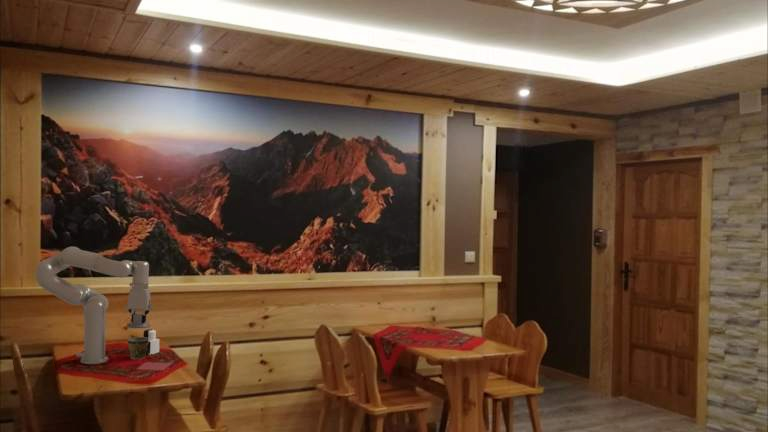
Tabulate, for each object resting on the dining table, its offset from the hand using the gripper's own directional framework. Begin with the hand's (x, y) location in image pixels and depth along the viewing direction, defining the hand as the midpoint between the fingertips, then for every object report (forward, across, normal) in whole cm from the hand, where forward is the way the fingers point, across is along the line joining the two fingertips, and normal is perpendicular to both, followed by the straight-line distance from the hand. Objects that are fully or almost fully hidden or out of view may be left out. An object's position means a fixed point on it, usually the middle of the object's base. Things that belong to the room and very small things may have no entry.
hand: (138, 322), depth 337 cm
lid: (+2, 0, 0) cm, 2 cm away
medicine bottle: (+19, 0, +15) cm, 24 cm away
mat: (+19, +13, -11) cm, 25 cm away
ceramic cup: (+19, 0, +1) cm, 19 cm away
